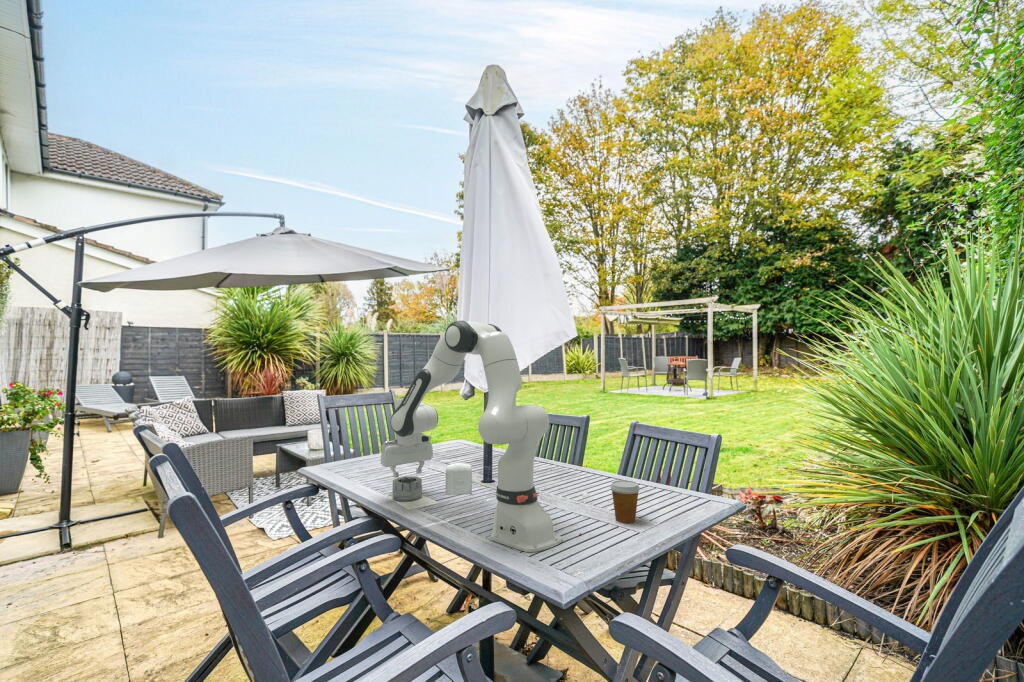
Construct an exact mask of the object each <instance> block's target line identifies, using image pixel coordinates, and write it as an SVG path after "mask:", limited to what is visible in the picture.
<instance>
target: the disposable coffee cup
mask: <svg viewBox="0 0 1024 682" xmlns="http://www.w3.org/2000/svg"><path fill="white" fill-rule="evenodd" d="M609 487H610V490H611V495H612V501H613V510H614V516H615V520H616V521H617V522H619V523H622V524H632V523H635V522H636V519H637V518H636V516H637V507H638V500H639V499H638V498H639V491H640V489H641V488H640V487H641V486H639V483H638V482H636V481H633V480H626V479H625V480H624V479H619V480H614V481H611V485H610V486H609Z"/></svg>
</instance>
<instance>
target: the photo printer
mask: <svg viewBox="0 0 1024 682" xmlns="http://www.w3.org/2000/svg"><path fill="white" fill-rule="evenodd" d="M472 493H473V469H472V466H471V464H469V463H465V462H464V463H462V462H456V463H451V464H448V465H446V469H445V494H446V495H448V496H449V495H467V494H468V495H473V494H472Z"/></svg>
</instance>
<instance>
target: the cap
mask: <svg viewBox="0 0 1024 682" xmlns="http://www.w3.org/2000/svg"><path fill="white" fill-rule="evenodd" d="M404 477H405V478H401V477H400V478H401V482H403V483H407V482H414V478H413V477H414V476H413V477H411V476H404Z"/></svg>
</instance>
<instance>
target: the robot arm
mask: <svg viewBox="0 0 1024 682" xmlns="http://www.w3.org/2000/svg"><path fill="white" fill-rule="evenodd" d="M467 354H470V355H478V356H480V357H481V360H482V361H481V362H482V364H483V370H484V371H483V372H484V375H485V381H486V384H487V390H488V392H487V393H488V397H487V404H486V407H485V410H484V411H483V413H482V415H481V416H480V418H479V419H478V426H477V427H478V428H477V429H478V432H479V436H480V437H481V439H482V441H484V442H485V443H487V444H488V445H496V446H497V445H499V446H500V445H502V446H503V445H508V446H507V448H506V450H505V452H504V453H503V454H502V455H501V456H500V458H499V459H498V461H497V486H496V491H495V495H496V497H495V498H496V500H497V502H496V506H495V509H494V514H493V524H492V525H493V528H492V533H491V534H490V537H489V539H490V541H494V542H496V543H499V544H502V545H504V546H508V547H510V548H513V549H516V550H520V551H522V552H525V553H535V552H542V551H545V550H548V549H551V548H553V547H556V546H557V545H559V544H561V543H562V542H563V537H562V536H561V535H559V534H557V533H556V532H555V530H554V522H553V518H552V517H551V515H550V514H549V512H548V513H547V512H546V510H545V509H544V508H543V506H542V505H541V504H540V503H539V500H538V497H540V495H539V494H540V492H537V491H536V487H535V486H534V467H535V466H534V464H535V458H536V454H537V450H538V447H539V444H540V442H541V440H542V438H543V436H544V435H545V434H546V433H547V432H548V430H549V428H550V416H549V414H548V412H547V410H546V409H545V408H543V407H542V406H539V405H534V404H524V405H517V401H516V400H517V393H518V392H519V391H520V390H521V388H522V386H523V378H522V374H521V370H520V365H519V362H518V357H517V354H516V352H515V349H514V346H513V343H512V342H511V340H510V337H509V336H508V334H507V333H506V332H503V330H501V328H500V327H498V326H497V325H495V324H492V323H484V322H481V321H474V320H455V321H453V322H451V323H449V324H448V326H447V327H446V328H445V331H444V332H443V333H442V335H441V336H440V338H439V339H438V341H437V343H436V345H435V347H434V350H433V352H432V354H431V357H430V359H429V360H428V361H427V362H426V364H425V366H424V367H423V368H422V369H420V371H419V372H418V373H417V374H416V376H415V377H414V379H413V381H412V382H411V384H410V386H409V388H408V390H407V391H406V393H405V395H404V396H400V397H399V398H398V399H397V400H396V403H395V407H394V408H395V409H394V411H393V413H392V415H391V417H390V422H389V423H390V428H391V429H392V431H393V432H394V436H395V437H394V438H395V439H393V440H386V441H384V442H383V443H382V444H381V446H380V452H381V454H380V464H381V466H382V467H384V468H389V469H390V471H391V472H392V476H393V478H394V479H397V478H400V477H399V475H400V474H399V473H400V472H398V471H397V470H396V469H397V466H402V465H407V464H408V465H409V464H412V463H413V464H414V463H418V464H419V465H418V466H417V467H416V469H415V470H416V471H415V473H416V474H422V471H423V470H422V469H423V467H424V465H425V462H426V461H430V460H431V461H432V459H433V458H434V450H433V444H432V443H431V441H432V436H431V435H428V434H424V432H429V431H431V430H434V429H436V427H437V425H438V423H439V413H438V411H437V410H436V408H435V407H434V406H432V405H429V404H426V403H424V402H422V401H423V400H424V398H425V396H426V395H427V394H428V393H429V392H431V390H433V389H435V388H437V387H440V386H442V385H444V384H446V383H449V382H451V381H453V380H454V379H455V378H456V377H457V375H458V374H459V372H460V371H461V368H462V365H463V363H464V360H465V358H466V355H467Z"/></svg>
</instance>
